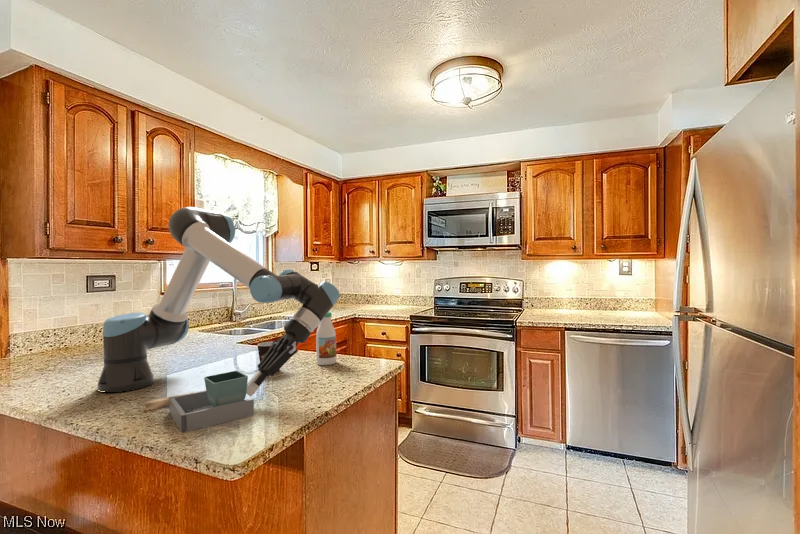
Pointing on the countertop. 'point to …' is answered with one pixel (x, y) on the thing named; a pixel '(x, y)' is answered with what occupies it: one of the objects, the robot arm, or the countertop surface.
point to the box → (205, 411)
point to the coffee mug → (263, 349)
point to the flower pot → (226, 388)
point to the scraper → (158, 402)
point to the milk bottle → (326, 342)
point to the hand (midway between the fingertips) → (246, 393)
